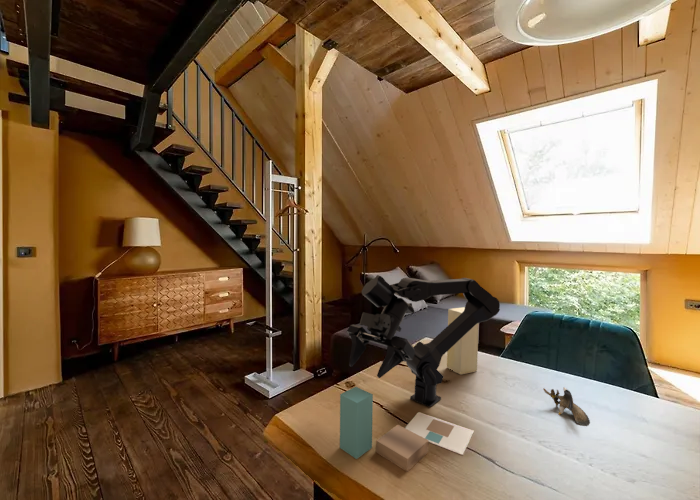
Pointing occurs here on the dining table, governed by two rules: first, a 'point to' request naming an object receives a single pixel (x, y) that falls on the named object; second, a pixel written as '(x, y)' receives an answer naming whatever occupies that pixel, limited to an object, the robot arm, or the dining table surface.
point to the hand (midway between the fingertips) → (363, 371)
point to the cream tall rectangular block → (463, 348)
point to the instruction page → (441, 432)
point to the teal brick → (356, 421)
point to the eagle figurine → (569, 406)
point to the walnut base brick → (402, 447)
